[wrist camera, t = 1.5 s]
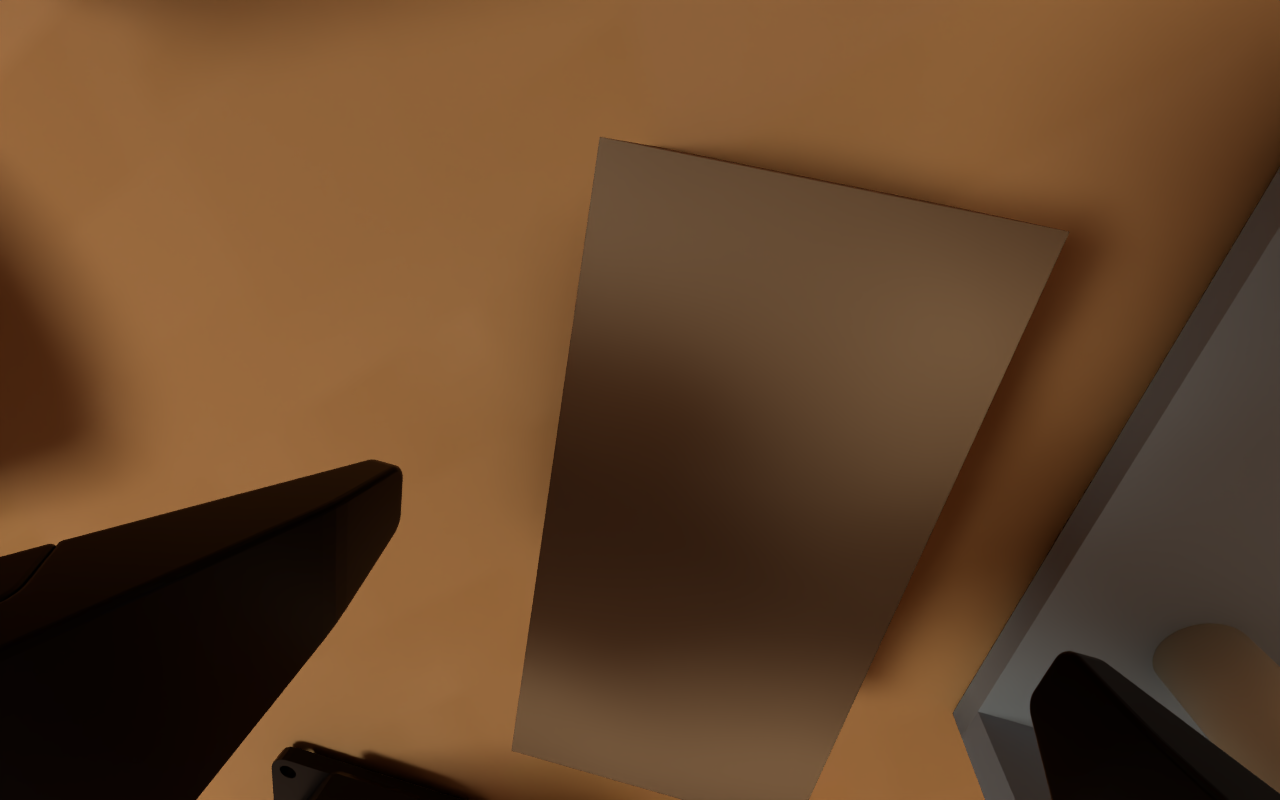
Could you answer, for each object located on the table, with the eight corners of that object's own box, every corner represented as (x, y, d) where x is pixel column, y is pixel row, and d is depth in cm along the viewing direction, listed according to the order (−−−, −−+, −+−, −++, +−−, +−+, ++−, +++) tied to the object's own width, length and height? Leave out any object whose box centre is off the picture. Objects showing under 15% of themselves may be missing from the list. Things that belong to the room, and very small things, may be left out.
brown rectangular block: (780, 652, 14) (794, 831, 10) (571, 597, 14) (511, 751, 10) (947, 205, 10) (1069, 231, 6) (651, 145, 10) (599, 137, 6)
